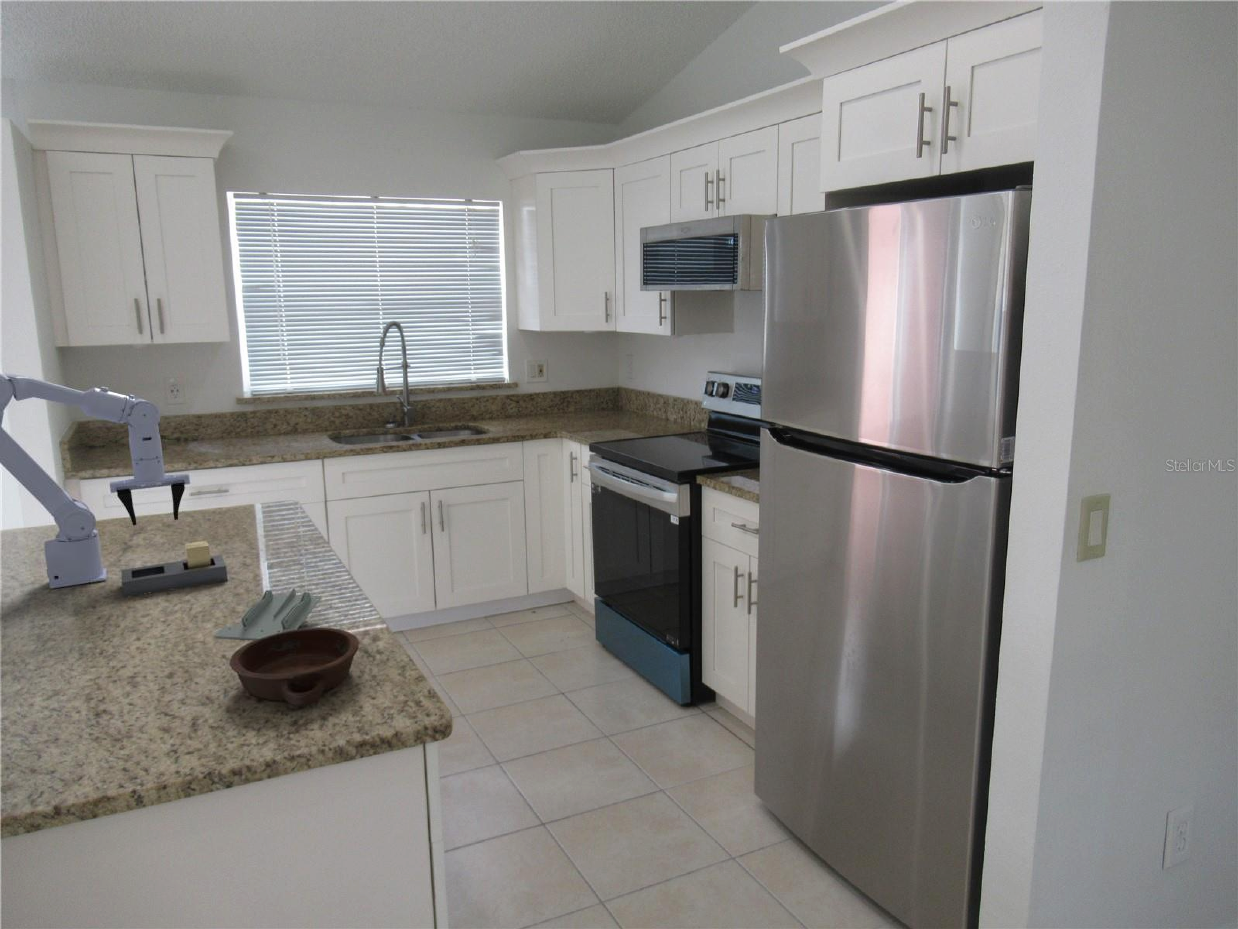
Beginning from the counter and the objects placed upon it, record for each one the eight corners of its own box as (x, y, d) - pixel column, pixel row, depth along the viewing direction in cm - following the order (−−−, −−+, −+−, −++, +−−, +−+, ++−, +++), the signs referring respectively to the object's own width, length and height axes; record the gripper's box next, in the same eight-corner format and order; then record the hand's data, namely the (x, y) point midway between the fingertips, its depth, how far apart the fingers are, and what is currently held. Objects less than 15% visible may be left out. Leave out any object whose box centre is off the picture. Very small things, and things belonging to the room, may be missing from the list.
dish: (343, 643, 139) (341, 613, 138) (378, 696, 120) (375, 662, 120) (226, 667, 131) (222, 636, 130) (243, 729, 112) (239, 693, 111)
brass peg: (190, 582, 170) (186, 548, 169) (188, 577, 174) (184, 544, 172) (212, 579, 172) (208, 545, 171) (210, 573, 176) (206, 540, 174)
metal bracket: (254, 581, 153) (332, 585, 150) (263, 608, 156) (340, 612, 153) (207, 633, 140) (290, 638, 138) (217, 661, 143) (299, 666, 140)
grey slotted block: (123, 597, 163) (121, 582, 162) (123, 584, 170) (121, 569, 170) (227, 580, 171) (226, 566, 171) (223, 568, 179) (221, 554, 178)
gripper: (106, 464, 171) (115, 531, 174) (187, 456, 178) (195, 520, 181) (106, 459, 177) (115, 523, 180) (185, 451, 184) (192, 513, 187)
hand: (155, 521), depth 181 cm, fingers open, 7 cm apart
